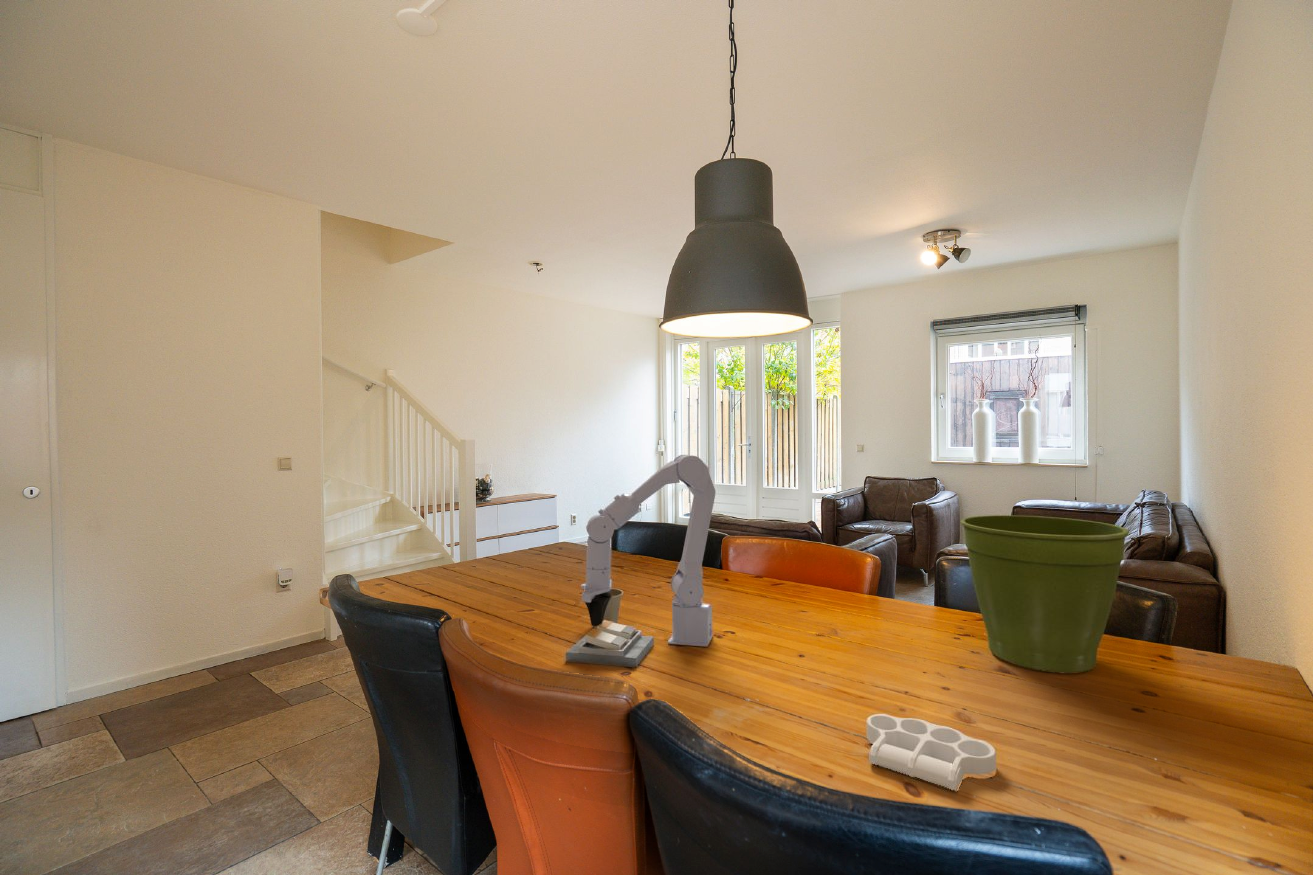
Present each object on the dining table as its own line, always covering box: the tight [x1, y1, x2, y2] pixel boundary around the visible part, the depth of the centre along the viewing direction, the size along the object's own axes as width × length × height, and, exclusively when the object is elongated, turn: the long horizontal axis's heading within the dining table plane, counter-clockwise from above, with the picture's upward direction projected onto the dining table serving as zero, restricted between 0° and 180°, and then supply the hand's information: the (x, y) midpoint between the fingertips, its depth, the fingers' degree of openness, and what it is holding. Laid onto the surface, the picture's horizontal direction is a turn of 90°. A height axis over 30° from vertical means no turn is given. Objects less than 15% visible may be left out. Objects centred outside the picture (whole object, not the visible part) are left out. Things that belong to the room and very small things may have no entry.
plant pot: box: [960, 514, 1129, 674], centre depth 126 cm, size 30×30×29 cm
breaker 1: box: [585, 627, 627, 650], centre depth 130 cm, size 8×4×2 cm, turn 75°
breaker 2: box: [596, 620, 637, 639], centre depth 137 cm, size 8×4×2 cm, turn 75°
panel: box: [565, 629, 655, 668], centre depth 133 cm, size 16×14×3 cm
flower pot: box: [593, 587, 624, 629], centre depth 153 cm, size 9×9×9 cm
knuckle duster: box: [866, 713, 997, 792], centre depth 88 cm, size 3×18×15 cm
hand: (596, 625), depth 138 cm, fingers closed, pressing on breaker 2
